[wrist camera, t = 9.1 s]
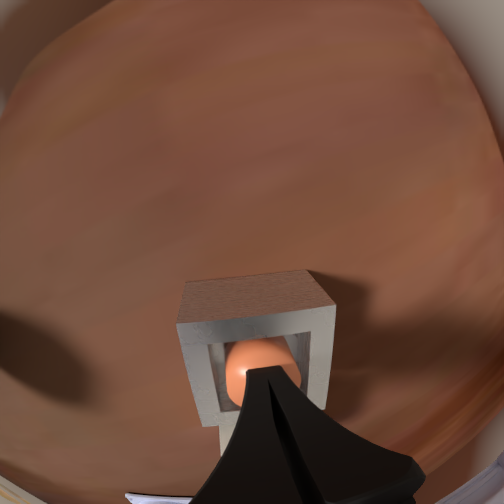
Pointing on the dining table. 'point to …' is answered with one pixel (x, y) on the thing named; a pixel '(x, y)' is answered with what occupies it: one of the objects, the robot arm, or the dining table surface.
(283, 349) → the button
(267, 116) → the dining table surface
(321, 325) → the button housing
